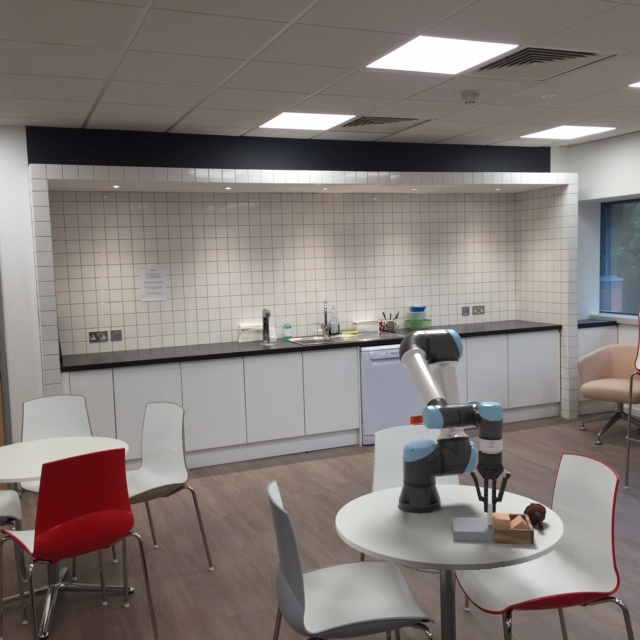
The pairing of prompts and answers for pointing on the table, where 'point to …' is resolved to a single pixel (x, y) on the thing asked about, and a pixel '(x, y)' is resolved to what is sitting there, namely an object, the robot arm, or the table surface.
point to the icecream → (536, 513)
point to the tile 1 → (500, 520)
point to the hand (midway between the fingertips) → (489, 521)
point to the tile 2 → (518, 523)
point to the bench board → (472, 529)
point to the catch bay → (515, 533)
